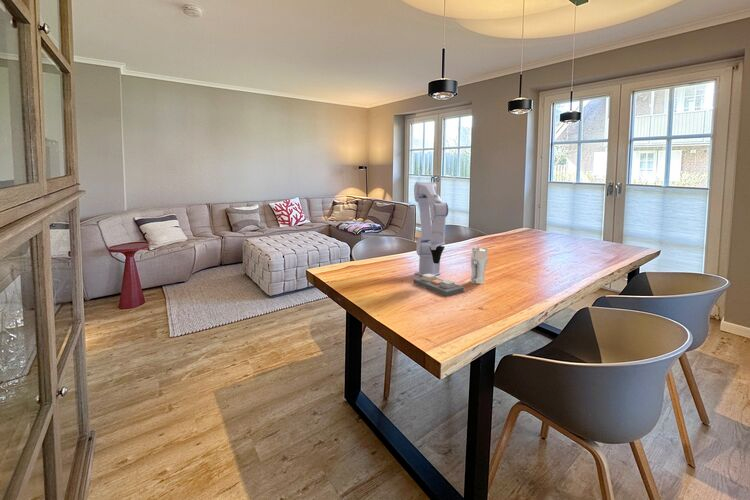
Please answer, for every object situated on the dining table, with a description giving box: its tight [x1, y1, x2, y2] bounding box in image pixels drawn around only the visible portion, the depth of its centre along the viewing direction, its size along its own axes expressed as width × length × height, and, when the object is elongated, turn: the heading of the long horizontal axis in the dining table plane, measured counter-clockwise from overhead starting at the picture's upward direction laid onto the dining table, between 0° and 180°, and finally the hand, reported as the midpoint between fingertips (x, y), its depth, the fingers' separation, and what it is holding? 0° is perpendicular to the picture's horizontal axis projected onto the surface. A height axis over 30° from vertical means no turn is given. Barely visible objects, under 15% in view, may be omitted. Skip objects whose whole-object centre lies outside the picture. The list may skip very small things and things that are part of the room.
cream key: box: [421, 274, 437, 282], centre depth 161 cm, size 4×4×2 cm
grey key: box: [440, 279, 456, 289], centre depth 152 cm, size 4×4×2 cm
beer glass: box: [469, 247, 489, 285], centre depth 164 cm, size 7×7×15 cm
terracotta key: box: [431, 278, 443, 285], centre depth 157 cm, size 4×4×2 cm
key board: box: [412, 276, 465, 297], centre depth 157 cm, size 10×20×2 cm, turn 35°
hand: (436, 263), depth 160 cm, fingers closed
